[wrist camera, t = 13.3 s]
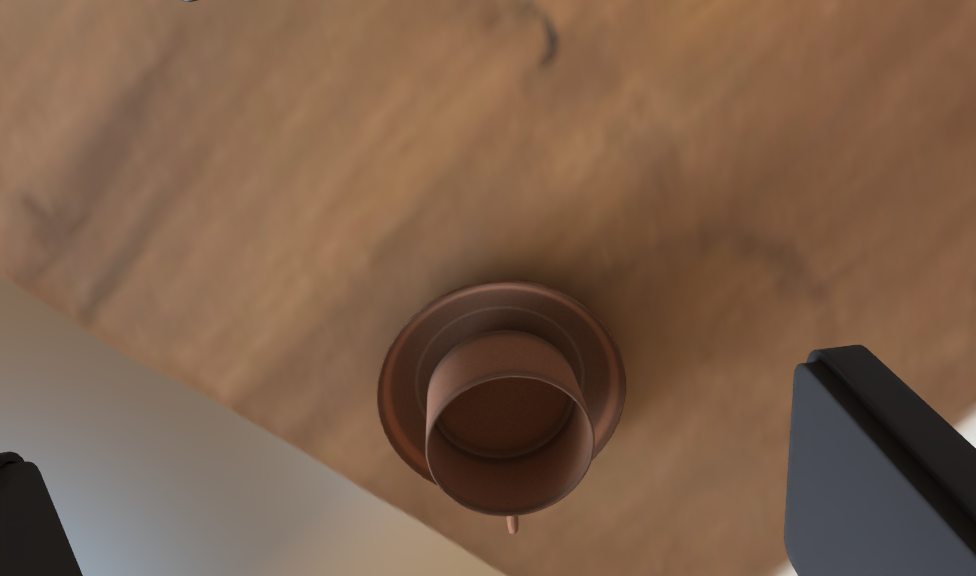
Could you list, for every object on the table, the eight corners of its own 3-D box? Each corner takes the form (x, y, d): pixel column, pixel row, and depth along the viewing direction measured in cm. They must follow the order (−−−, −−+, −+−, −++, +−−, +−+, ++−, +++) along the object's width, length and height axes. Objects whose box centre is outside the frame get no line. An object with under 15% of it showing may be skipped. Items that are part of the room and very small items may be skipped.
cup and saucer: (647, 425, 41) (682, 501, 36) (439, 505, 42) (441, 591, 37) (569, 227, 36) (594, 279, 31) (336, 324, 38) (320, 391, 32)
